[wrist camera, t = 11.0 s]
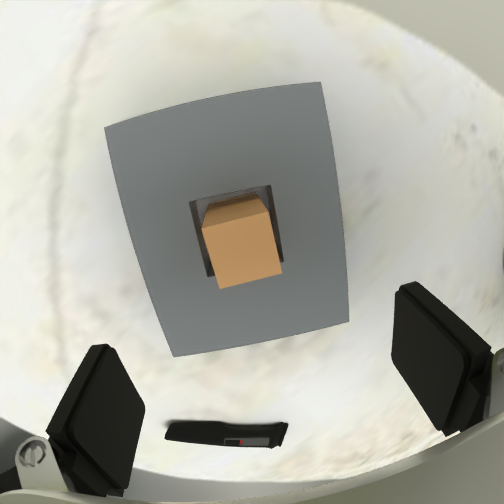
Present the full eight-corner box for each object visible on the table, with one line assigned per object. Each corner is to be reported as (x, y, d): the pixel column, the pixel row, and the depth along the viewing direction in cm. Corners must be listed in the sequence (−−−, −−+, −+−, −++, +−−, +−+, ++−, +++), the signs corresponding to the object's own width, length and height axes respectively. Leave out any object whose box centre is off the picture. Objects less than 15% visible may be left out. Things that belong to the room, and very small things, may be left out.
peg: (255, 191, 25) (268, 211, 18) (266, 236, 27) (282, 273, 19) (208, 203, 25) (201, 228, 18) (221, 248, 27) (219, 289, 19)
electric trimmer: (166, 411, 34) (163, 430, 31) (288, 419, 35) (292, 438, 32) (168, 428, 35) (165, 446, 32) (283, 436, 36) (286, 453, 33)
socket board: (308, 89, 23) (320, 81, 19) (337, 303, 29) (349, 321, 26) (119, 129, 22) (104, 127, 19) (178, 335, 29) (173, 357, 26)
